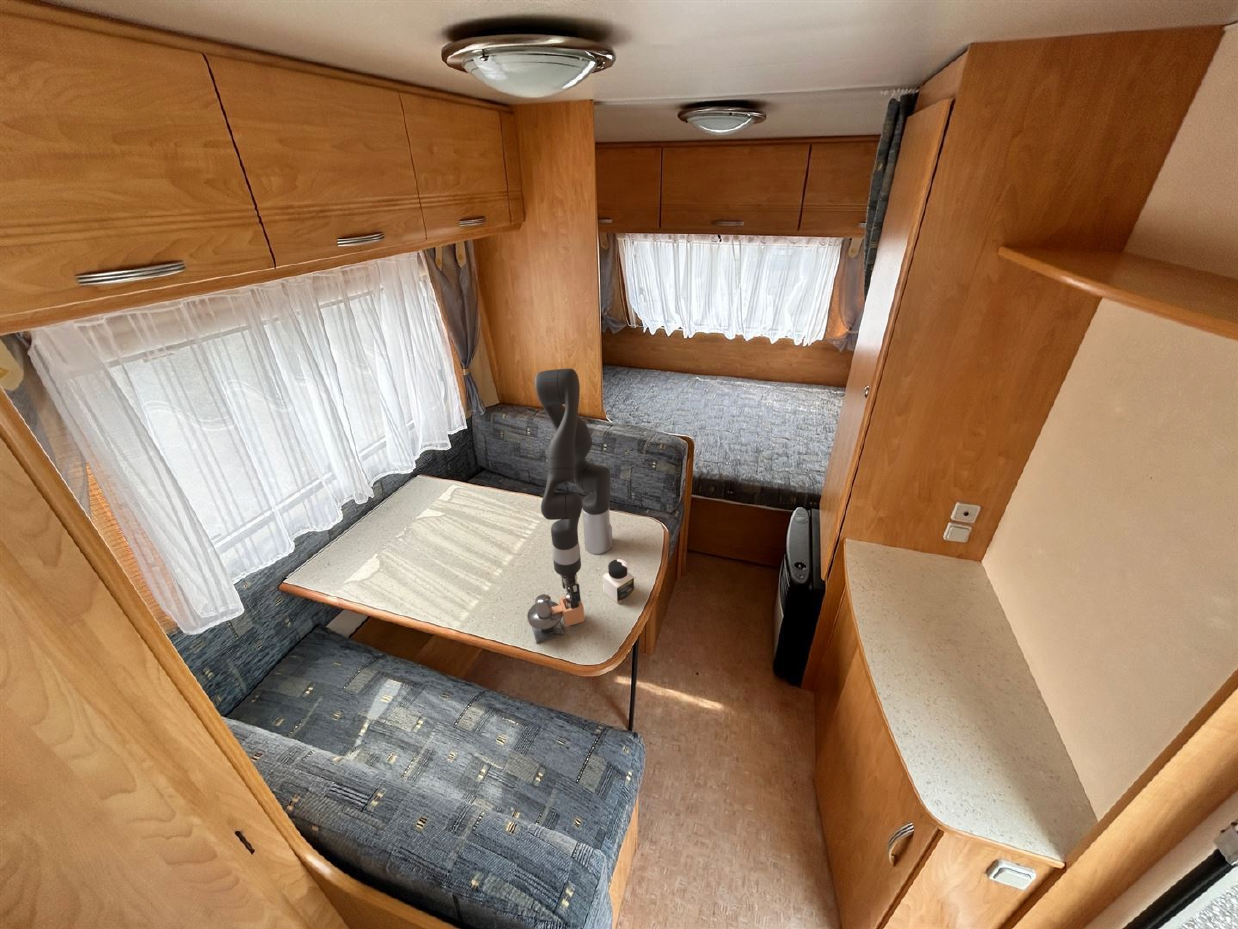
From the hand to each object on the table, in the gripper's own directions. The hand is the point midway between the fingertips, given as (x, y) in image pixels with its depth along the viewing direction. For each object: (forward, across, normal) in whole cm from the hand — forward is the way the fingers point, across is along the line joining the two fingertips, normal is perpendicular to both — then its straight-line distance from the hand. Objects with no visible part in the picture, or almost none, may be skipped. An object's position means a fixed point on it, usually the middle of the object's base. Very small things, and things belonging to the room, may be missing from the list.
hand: (570, 597), depth 149 cm
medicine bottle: (+10, +6, -17) cm, 21 cm away
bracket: (+8, 0, +2) cm, 8 cm away
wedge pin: (+10, 0, 0) cm, 10 cm away
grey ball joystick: (+10, 0, +8) cm, 13 cm away
